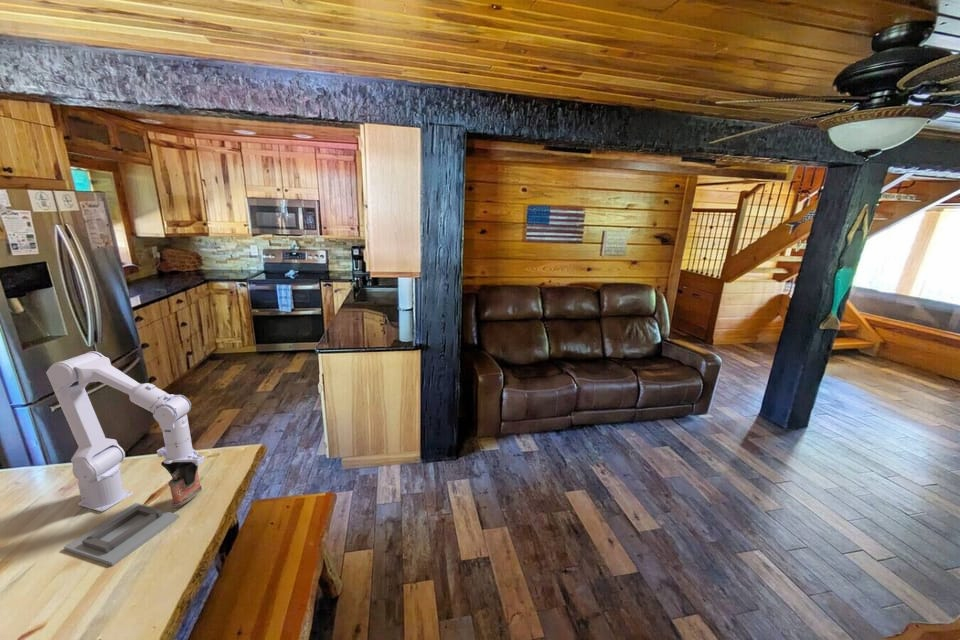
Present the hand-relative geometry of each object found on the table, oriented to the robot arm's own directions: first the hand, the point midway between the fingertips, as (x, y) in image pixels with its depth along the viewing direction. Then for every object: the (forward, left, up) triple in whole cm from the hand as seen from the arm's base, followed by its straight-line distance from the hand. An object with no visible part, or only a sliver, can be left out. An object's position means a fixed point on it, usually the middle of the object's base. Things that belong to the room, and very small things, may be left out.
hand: (184, 481), depth 109 cm
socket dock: (-5, -13, -7) cm, 16 cm away
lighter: (0, 0, -5) cm, 5 cm away
